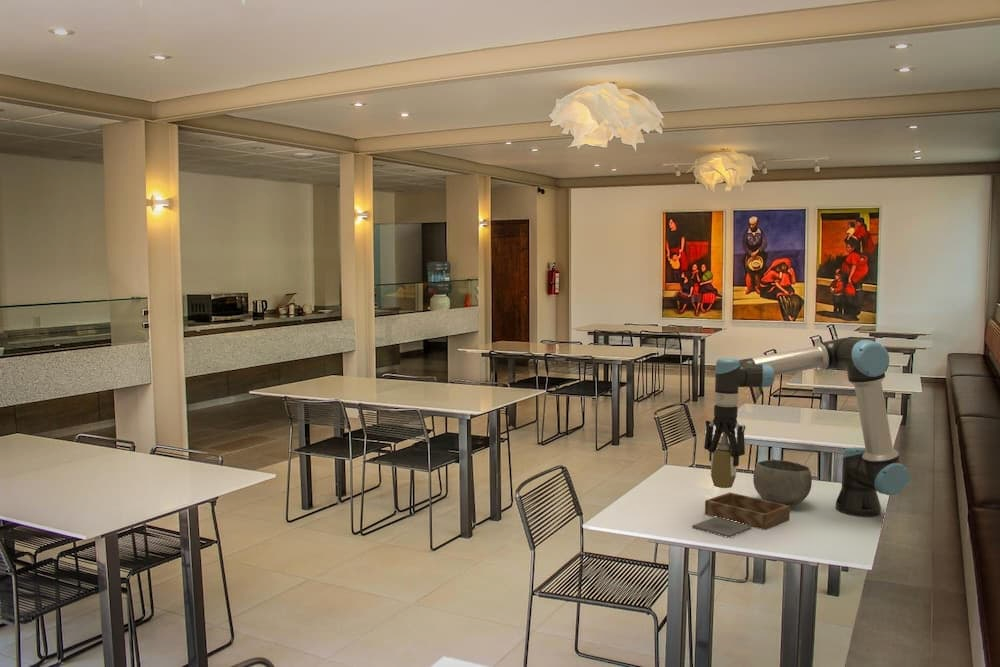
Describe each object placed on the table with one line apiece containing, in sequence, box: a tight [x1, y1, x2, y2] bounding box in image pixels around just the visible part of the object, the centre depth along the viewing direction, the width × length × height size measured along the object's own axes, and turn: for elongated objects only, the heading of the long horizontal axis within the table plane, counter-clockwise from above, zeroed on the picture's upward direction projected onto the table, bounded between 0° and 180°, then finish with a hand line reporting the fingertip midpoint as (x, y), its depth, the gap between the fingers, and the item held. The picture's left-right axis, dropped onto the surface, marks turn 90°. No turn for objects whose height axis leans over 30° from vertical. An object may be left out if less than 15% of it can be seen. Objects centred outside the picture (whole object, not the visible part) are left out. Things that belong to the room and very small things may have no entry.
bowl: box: [752, 459, 813, 506], centre depth 308 cm, size 20×20×15 cm
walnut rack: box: [704, 491, 791, 531], centre depth 291 cm, size 23×16×5 cm
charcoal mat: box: [691, 517, 752, 538], centre depth 278 cm, size 14×14×1 cm
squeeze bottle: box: [710, 433, 737, 489], centre depth 276 cm, size 8×8×18 cm
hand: (723, 473), depth 276 cm, fingers closed on squeeze bottle, 6 cm apart
